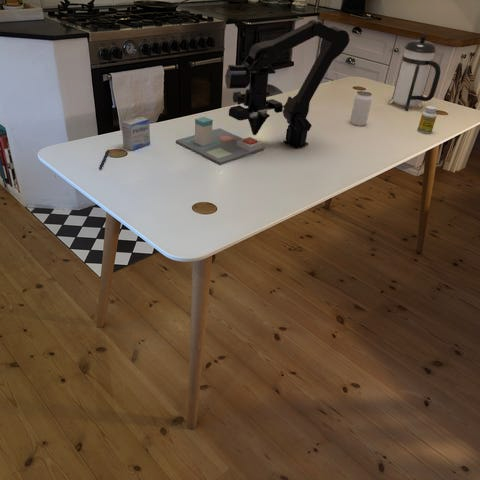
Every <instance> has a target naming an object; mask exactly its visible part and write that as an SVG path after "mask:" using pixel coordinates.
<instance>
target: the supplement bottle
mask: <svg viewBox="0 0 480 480" xmlns="http://www.w3.org/2000/svg"><path fill="white" fill-rule="evenodd" d="M437 109H438V108H437V107H436V106H434V105H426V106H425V111H423V112H422V113H421V116H420V121H419V124H418V127H417V132H419V133H420V134H424V135H426V134H427V135H429V134H431V133H432V132H433V128H434V125H435V123H436V119H437V117H438V115H437V113H436V112H437Z"/></svg>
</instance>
